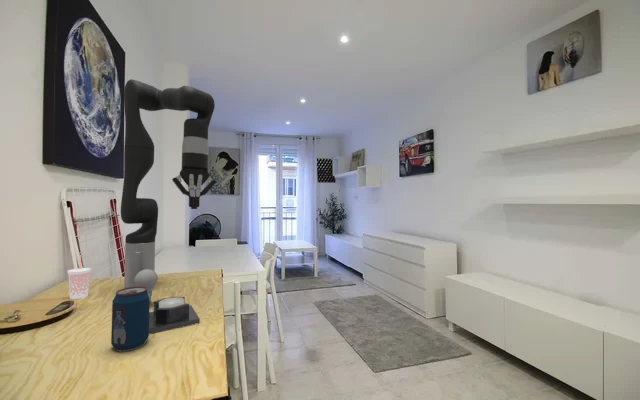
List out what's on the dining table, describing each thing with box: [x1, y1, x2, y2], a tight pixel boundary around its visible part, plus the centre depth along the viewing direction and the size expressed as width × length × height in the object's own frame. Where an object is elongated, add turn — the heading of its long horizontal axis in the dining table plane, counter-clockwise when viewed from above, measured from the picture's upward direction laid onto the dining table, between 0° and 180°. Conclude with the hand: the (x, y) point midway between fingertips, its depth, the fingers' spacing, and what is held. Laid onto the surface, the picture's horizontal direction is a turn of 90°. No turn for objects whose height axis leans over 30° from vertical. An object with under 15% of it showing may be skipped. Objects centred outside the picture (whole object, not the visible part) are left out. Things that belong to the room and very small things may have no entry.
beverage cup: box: [67, 254, 92, 300], centre depth 95 cm, size 6×6×14 cm
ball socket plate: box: [149, 296, 201, 335], centre depth 76 cm, size 12×12×5 cm
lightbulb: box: [134, 269, 158, 303], centre depth 87 cm, size 6×6×11 cm
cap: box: [159, 296, 184, 308], centre depth 76 cm, size 6×6×4 cm
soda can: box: [110, 287, 151, 352], centre depth 63 cm, size 7×7×12 cm
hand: (193, 208), depth 88 cm, fingers closed
